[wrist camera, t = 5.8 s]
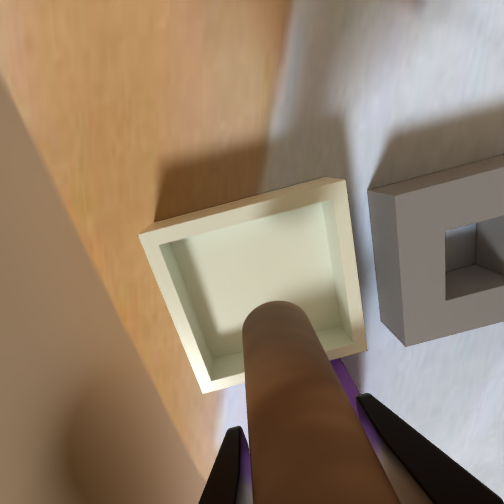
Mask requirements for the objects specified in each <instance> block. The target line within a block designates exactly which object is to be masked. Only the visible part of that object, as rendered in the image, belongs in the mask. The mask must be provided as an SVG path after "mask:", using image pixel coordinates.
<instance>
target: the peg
mask: <svg viewBox="0 0 504 504" xmlns="http://www.w3.org/2000/svg"><path fill="white" fill-rule="evenodd" d="M242 341H243V357H244V372H245V388H246V403H247V419H248V434H249V450H250V465H251V480H252V496H253V504H401V503H400V501H399V499H398V497H397V495H396V493H395V491H394V489H393V487H392V485H391V483H390V481H389V479H388V477H387V475H386V473H385V471H384V469H383V467H382V465H381V463H380V461H379V459H378V457H377V455H376V453H375V451H374V449H373V447H372V445H371V443H370V441H369V439H368V437H367V435H366V433H365V431H364V429H363V427H362V425H361V423H360V421H359V419H358V417H357V415H356V413H355V411H354V409H353V407H352V405H351V403H350V401H349V399H348V397H347V395H346V393H345V391H344V389H343V387H342V385H341V383H340V381H339V379H338V377H337V375H336V373H335V371H334V369H333V367H332V365H331V363H330V361H329V359H328V357H327V355H326V353H325V351H324V349H323V347H322V345H321V343H320V341H319V339H318V337H317V335H316V333H315V331H314V329H313V327H312V325H311V323H310V321H309V319H308V317H307V315H306V313H305V312H304V311H303V310H302V309H301V308H300V307H299V306H297V305H295V304H293V303H291V302H287V301H270V302H267V303H264V304H262V305H260V306H258V307H256V308H255V309H254V310H252V311H251V312H250V313H249V315H248V316H247V317H246V319H245V321H244V324H243V327H242Z"/></svg>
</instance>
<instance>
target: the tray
mask: <svg viewBox="0 0 504 504" xmlns="http://www.w3.org/2000/svg"><path fill="white" fill-rule="evenodd" d="M138 236H139V239H140V241H141V244H142V246H143V249H144V251H145V254H146V256H147V258H148V261H149V263H150V266H151V268H152V271H153V273H154V276H155V278H156V280H157V283H158V285H159V288H160V290H161V293H162V295H163V297H164V300H165V302H166V305H167V307H168V310H169V312H170V315H171V317H172V319H173V322H174V324H175V327H176V329H177V332H178V334H179V337H180V339H181V341H182V344H183V346H184V349H185V351H186V354H187V356H188V359H189V361H190V363H191V366H192V368H193V371H194V373H195V376H196V378H197V381H198V383H199V385H200V388H201V390H202V393H203V394H204V393H207V392H211V391H215V390H219V389H223V388H227V387H230V386H234V385H238V384H242V383H245V372H244V357H243V341H242V327H243V324H244V321H245V319H246V317H247V316H248V315H249V313H250V312H251V311H252V310H254V309H255V308H256V307H258V306H260V305H262V304H264V303H267V302H270V301H287V302H291V303H293V304H295V305H297V306H299V307H300V308H301V309H302V310H303V311H304V312H305V313H306V315H307V317H308V319H309V321H310V323H311V325H312V327H313V329H314V331H315V333H316V335H317V337H318V339H319V341H320V343H321V345H322V347H323V349H324V351H325V353H326V355H327V357H328V359H329V361H330V360H333V359H337V358H341V357H345V356H349V355H353V354H356V353H360V352H364V351H368V350H367V343H366V335H365V327H364V319H363V312H362V304H361V296H360V288H359V281H358V273H357V265H356V257H355V250H354V242H353V234H352V226H351V219H350V211H349V203H348V195H347V188H346V180H344V179H337V178H330V177H323V178H319V179H316V180H312V181H308V182H304V183H301V184H297V185H293V186H289V187H286V188H282V189H278V190H274V191H271V192H267V193H263V194H259V195H255V196H252V197H248V198H244V199H240V200H237V201H233V202H229V203H225V204H222V205H218V206H214V207H210V208H207V209H203V210H199V211H195V212H191V213H188V214H184V215H180V216H176V217H173V218H169V219H165V220H161V221H158V222H154V223H152V224H151V225H150V226H149V227H147V228H146V229H145V230H143V231H142V232H141V233H139V234H138Z"/></svg>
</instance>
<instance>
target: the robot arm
mask: <svg viewBox="0 0 504 504" xmlns="http://www.w3.org/2000/svg"><path fill="white" fill-rule="evenodd" d="M356 405H357V411H358V416H359V420H360V422H361V425H362V427H363V429H364V431H365V433H366V435H367V437H368V439H369V441H370V443H371V445H372V447H373V449H374V451H375V453H376V455H377V457H378V459H379V461H380V463H381V465H382V467H383V469H384V471H385V473H386V475H387V477H388V479H389V481H390V483H391V485H392V487H393V489H394V491H395V493H396V495H397V497H398V499H399V501H400V503H401V504H504V503H503V500H502V499H501V498H500V497H499V496H498V495H497V494H495V493H494V492H493V491H492V490H490V489H489V488H488V487H487V486H485V485H484V484H483V483H482V482H480V481H479V480H478V479H476V478H475V477H474V476H473V475H471V474H470V473H469V472H468V471H466V470H465V469H464V468H463V467H461V466H460V465H459V464H458V463H456V462H455V461H454V460H453V459H451V458H450V457H449V456H448V455H446V454H445V453H444V452H443V451H441V450H440V449H439V448H437V447H436V446H435V445H434V444H432V443H431V442H430V441H429V440H427V439H426V438H425V437H424V436H422V435H421V434H420V433H419V432H417V431H416V430H415V429H414V428H412V427H411V426H410V425H409V424H407V423H406V422H405V421H404V420H402V419H401V418H400V417H399V416H397V415H396V414H395V413H393V412H392V411H391V410H390V409H388V408H387V407H386V406H385V405H383V404H382V403H381V402H380V401H378V400H377V399H376V398H375V397H373V396H372V395H371V394H369V393H364V394H361V395H357V396H356ZM199 504H253V496H252V480H251V465H250V453H249V447H248V443H247V440H246V438H245V435H244V432H243V430H242V428H241V426H237V427H233V428H229V429H228V430H227V432H226V435H225V437H224V440H223V442H222V445H221V447H220V450H219V453H218V455H217V458H216V460H215V463H214V465H213V468H212V470H211V473H210V475H209V478H208V481H207V483H206V486H205V488H204V491H203V493H202V496H201V498H200V501H199Z"/></svg>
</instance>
